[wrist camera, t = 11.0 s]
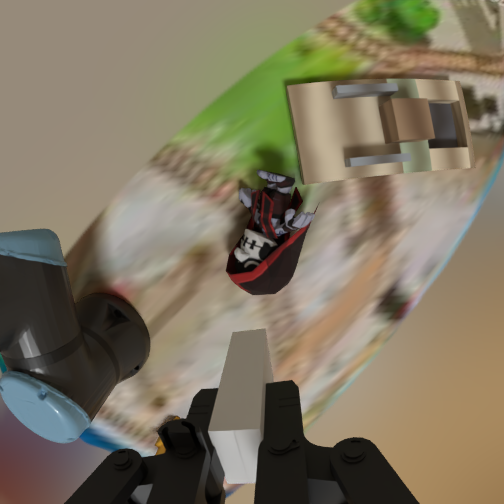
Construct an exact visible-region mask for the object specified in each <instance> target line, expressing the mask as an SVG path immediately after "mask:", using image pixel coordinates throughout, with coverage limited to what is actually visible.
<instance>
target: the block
mask: <svg viewBox="0 0 504 504" xmlns="http://www.w3.org/2000/svg"><path fill="white" fill-rule="evenodd" d="M378 108H379V113H380V118H381V123H382V129H383V134H384V140H385V144H391V143H406V142H420V141H424V140H429V139H434V138H435V135H434V129H433V124H432V119H431V114H430V109H429V104H428V100H427V98H396V99H390V100H388V101H387V102H385V103H384V104H382V105H381V106H379V107H378Z"/></svg>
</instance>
